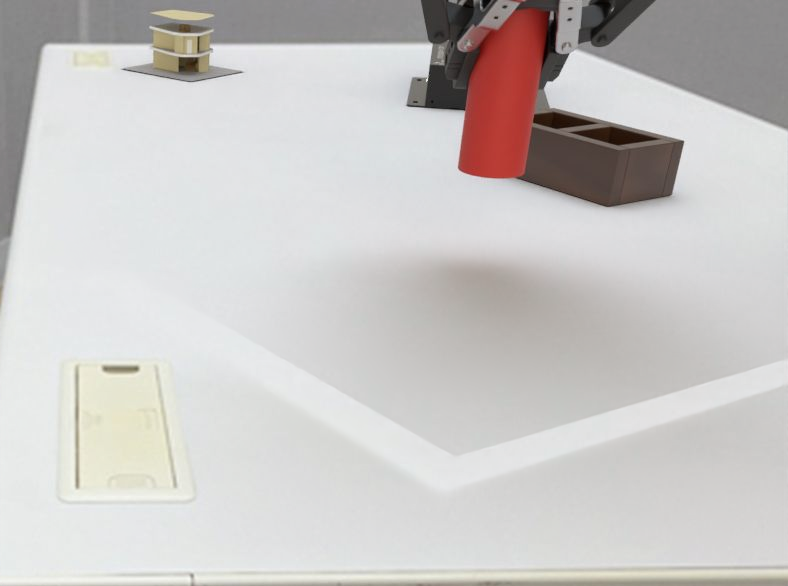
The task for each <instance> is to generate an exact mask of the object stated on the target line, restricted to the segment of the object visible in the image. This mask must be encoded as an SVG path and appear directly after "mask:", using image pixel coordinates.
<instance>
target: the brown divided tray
mask: <svg viewBox="0 0 788 586" xmlns="http://www.w3.org/2000/svg"><path fill="white" fill-rule="evenodd" d="M684 145H685V140H683V139H680V138H675V137H671V136H667V135H663V134H660V133H655V132H651V131H647V130H643V129H641V128H640V129H639V128H635V127H632V126H627V125H625V124H624V125H623V124H620V123H615V122H611V121H608V120H603V119H600V118H595V117H593V116H588V115H584V114H581V113H580V114H579V113H575V112H572V111H568V110H564V109H560V108H556V107H550V108H549V109H541V110H535V112H534V118H533V124H532V130H531V136H530V143H529V149H528V155H527V161H526V167H525V173H524V174H523V175H522V176H519V177H515V179H516V178H517V179H520V180H524V181H527V182H529V183H533V184H535V185H539V186H541V187H546V188H549V189H552V190H555V191H557V192H561V193H564V194H567V195H570V196H574V197H577V198H580V199H583V200H586V201H590V202H592V203H596V204H599V205H603V206H605V207H612V206H617V205H623V204H628V203H635V202H640V201H644V200H645V201H646V200H651V199H656V198H661V197H663V198H664V197H668V196H672V195H673V192H674V187H675V183H676V180H677V176H678V170H679V167H680V162H681V159H682V153H683V150H684Z"/></svg>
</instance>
